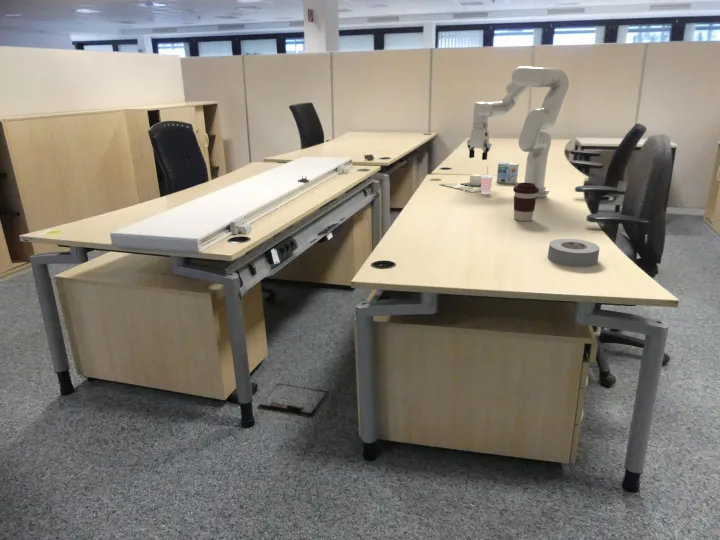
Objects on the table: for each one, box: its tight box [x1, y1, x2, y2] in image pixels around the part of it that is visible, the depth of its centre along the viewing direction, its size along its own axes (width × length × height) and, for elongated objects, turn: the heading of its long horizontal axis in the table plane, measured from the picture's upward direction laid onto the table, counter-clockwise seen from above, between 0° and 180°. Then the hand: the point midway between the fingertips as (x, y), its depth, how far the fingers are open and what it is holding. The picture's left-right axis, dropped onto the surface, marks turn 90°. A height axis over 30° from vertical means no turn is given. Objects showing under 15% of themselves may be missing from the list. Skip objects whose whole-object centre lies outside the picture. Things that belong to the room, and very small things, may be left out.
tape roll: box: [547, 238, 600, 268], centre depth 174 cm, size 15×15×5 cm
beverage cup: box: [480, 165, 494, 195], centre depth 271 cm, size 6×6×14 cm
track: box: [438, 182, 481, 193], centre depth 288 cm, size 26×9×1 cm, turn 33°
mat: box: [461, 181, 481, 188], centre depth 295 cm, size 12×12×1 cm
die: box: [469, 173, 482, 185], centre depth 294 cm, size 5×5×5 cm
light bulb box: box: [496, 161, 520, 185], centre depth 300 cm, size 11×7×11 cm, turn 68°
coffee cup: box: [512, 182, 539, 222], centre depth 221 cm, size 10×10×15 cm
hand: (477, 158), depth 290 cm, fingers open, 9 cm apart
